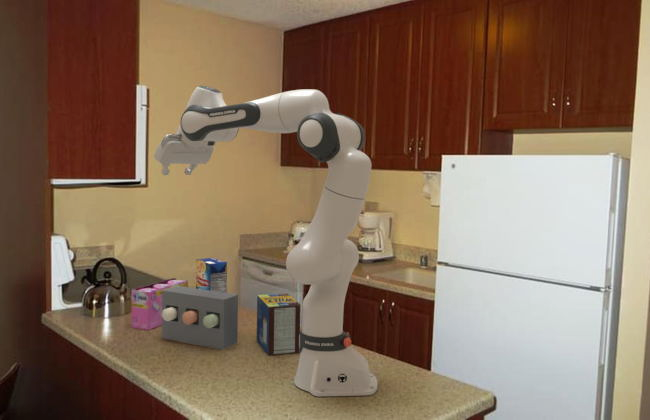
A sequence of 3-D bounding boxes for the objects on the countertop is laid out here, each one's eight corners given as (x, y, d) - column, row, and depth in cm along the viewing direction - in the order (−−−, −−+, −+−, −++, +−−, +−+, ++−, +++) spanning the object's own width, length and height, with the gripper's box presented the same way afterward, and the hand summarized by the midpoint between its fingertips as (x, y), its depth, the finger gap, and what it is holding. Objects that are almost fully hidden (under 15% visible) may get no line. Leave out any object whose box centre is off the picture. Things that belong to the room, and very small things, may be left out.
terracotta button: (200, 322, 182) (200, 310, 181) (192, 325, 178) (192, 313, 178) (189, 320, 183) (189, 308, 183) (182, 323, 180) (182, 311, 179)
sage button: (221, 325, 178) (221, 313, 178) (213, 329, 175) (213, 316, 174) (210, 324, 180) (210, 311, 180) (202, 327, 176) (203, 314, 176)
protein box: (286, 338, 191) (287, 292, 189) (300, 353, 176) (301, 304, 175) (255, 340, 187) (256, 294, 186) (267, 356, 173) (268, 306, 171)
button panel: (237, 342, 184) (238, 294, 183) (223, 349, 177) (224, 299, 176) (177, 332, 194) (177, 286, 192) (162, 338, 186) (162, 290, 185)
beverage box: (209, 324, 204) (210, 264, 202) (195, 317, 212) (196, 259, 211) (226, 321, 208) (227, 262, 207) (211, 314, 217) (212, 257, 215)
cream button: (179, 318, 185) (179, 306, 185) (171, 322, 181) (171, 309, 181) (169, 317, 186) (170, 305, 186) (161, 320, 183) (161, 308, 182)
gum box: (174, 311, 220) (174, 277, 218) (191, 314, 217) (191, 279, 215) (130, 327, 198) (130, 289, 197) (148, 330, 195) (148, 291, 193)
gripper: (171, 138, 163) (156, 179, 168) (220, 141, 181) (205, 179, 185) (158, 128, 166) (143, 169, 171) (208, 132, 183) (193, 169, 188)
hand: (176, 174), depth 178 cm, fingers open, 8 cm apart
